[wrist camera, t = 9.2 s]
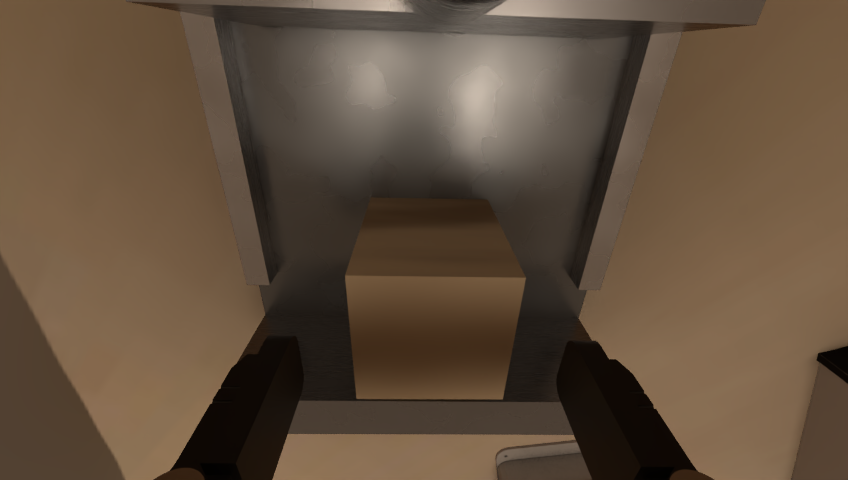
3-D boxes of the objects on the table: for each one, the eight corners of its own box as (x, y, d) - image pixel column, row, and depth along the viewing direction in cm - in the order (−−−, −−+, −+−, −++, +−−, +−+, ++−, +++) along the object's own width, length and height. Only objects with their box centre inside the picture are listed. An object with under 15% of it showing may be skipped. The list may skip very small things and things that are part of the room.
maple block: (370, 197, 15) (344, 275, 10) (487, 199, 15) (526, 277, 10) (375, 293, 17) (356, 399, 12) (476, 294, 17) (502, 399, 12)
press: (183, -159, 11) (-75, -397, 5) (685, -134, 11) (957, -326, 6) (283, 331, 20) (230, 441, 14) (558, 334, 21) (612, 442, 15)
